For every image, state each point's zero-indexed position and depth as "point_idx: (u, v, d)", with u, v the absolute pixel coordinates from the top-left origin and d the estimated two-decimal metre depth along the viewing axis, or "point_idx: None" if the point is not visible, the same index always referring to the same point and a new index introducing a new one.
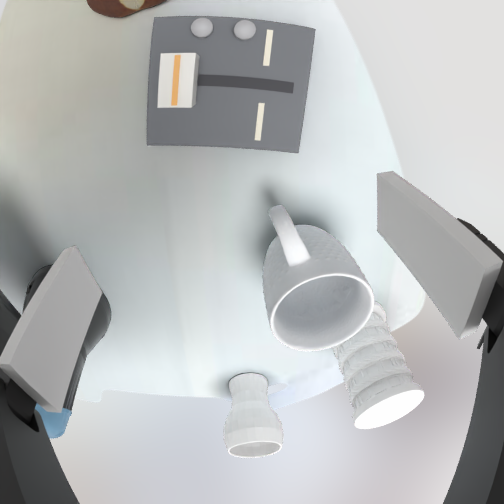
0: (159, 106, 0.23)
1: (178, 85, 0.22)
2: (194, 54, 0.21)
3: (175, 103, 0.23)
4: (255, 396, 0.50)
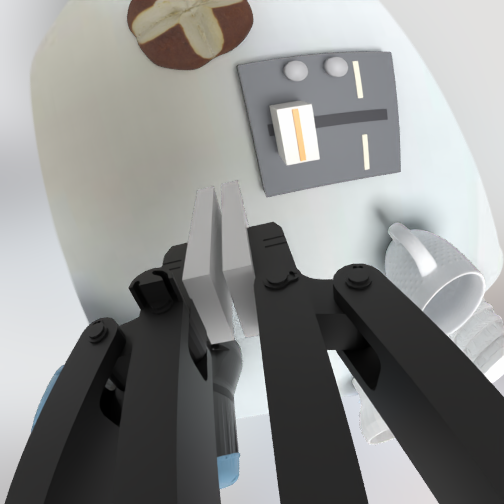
0: (288, 163, 0.25)
1: (303, 140, 0.24)
2: (310, 105, 0.22)
3: (303, 158, 0.25)
4: None
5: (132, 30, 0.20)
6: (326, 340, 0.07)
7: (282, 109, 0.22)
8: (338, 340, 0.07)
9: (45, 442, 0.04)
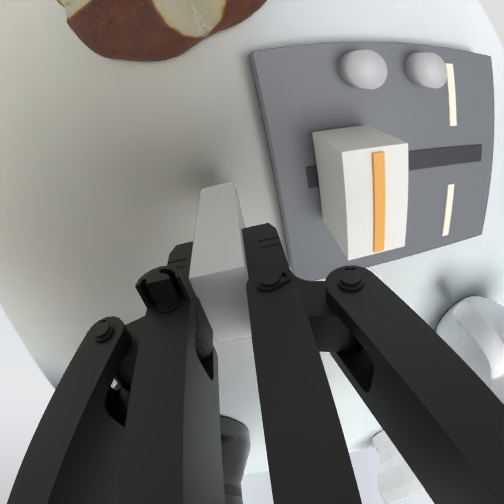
0: (351, 257, 0.13)
1: (385, 215, 0.12)
2: (406, 146, 0.10)
3: (379, 246, 0.13)
4: None
5: None
6: (319, 342, 0.07)
7: (353, 151, 0.10)
8: (330, 342, 0.07)
9: (49, 442, 0.04)
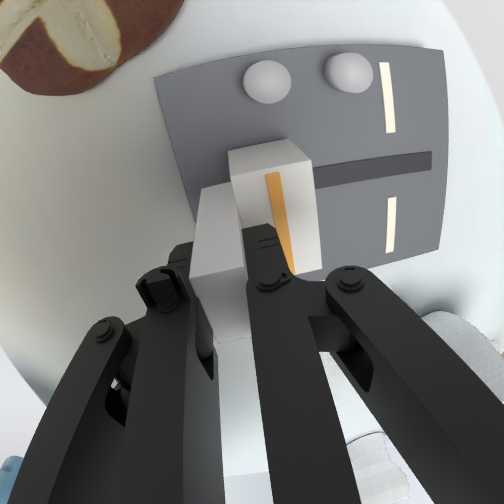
0: None
1: (290, 238, 0.12)
2: (308, 164, 0.11)
3: (290, 269, 0.13)
4: (377, 458, 0.39)
5: None
6: (319, 342, 0.07)
7: (243, 174, 0.11)
8: (330, 342, 0.07)
9: (49, 442, 0.04)
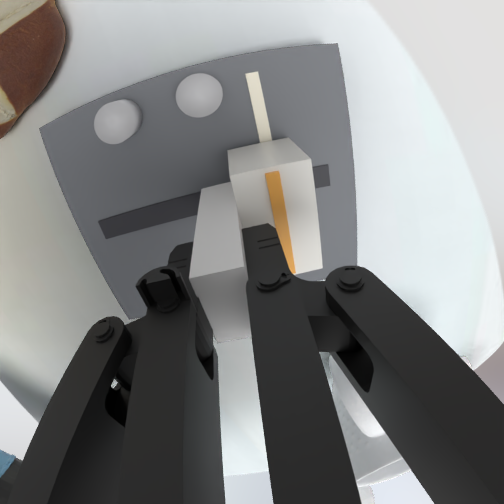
0: None
1: (290, 237, 0.12)
2: (308, 162, 0.10)
3: (290, 268, 0.13)
4: None
5: None
6: (319, 342, 0.07)
7: (243, 174, 0.11)
8: (330, 342, 0.07)
9: (49, 442, 0.04)
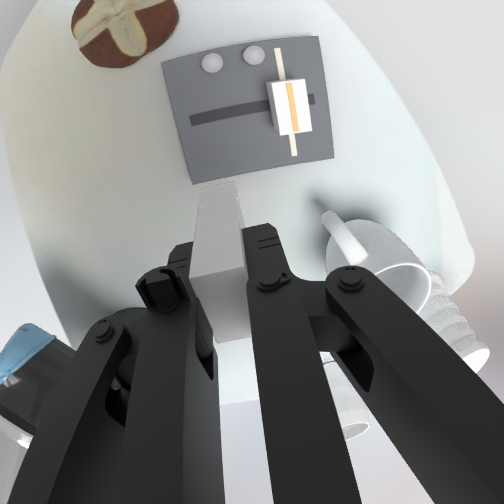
0: (282, 134, 0.26)
1: (296, 112, 0.24)
2: (303, 80, 0.23)
3: (296, 129, 0.26)
4: (337, 383, 0.52)
5: (74, 36, 0.20)
6: (319, 342, 0.07)
7: (277, 83, 0.23)
8: (330, 342, 0.07)
9: (49, 442, 0.04)
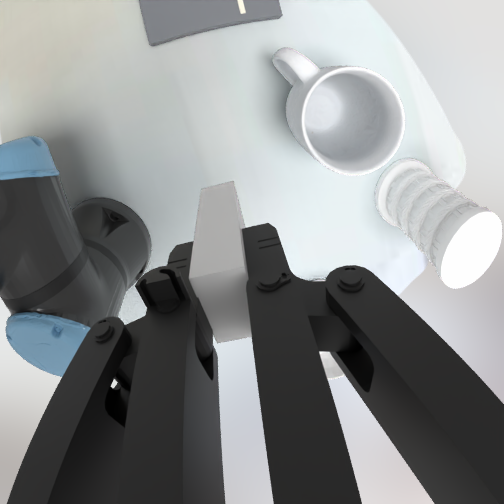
0: None
1: None
2: None
3: None
4: None
5: None
6: (319, 342, 0.07)
7: None
8: (331, 342, 0.07)
9: (49, 442, 0.04)
